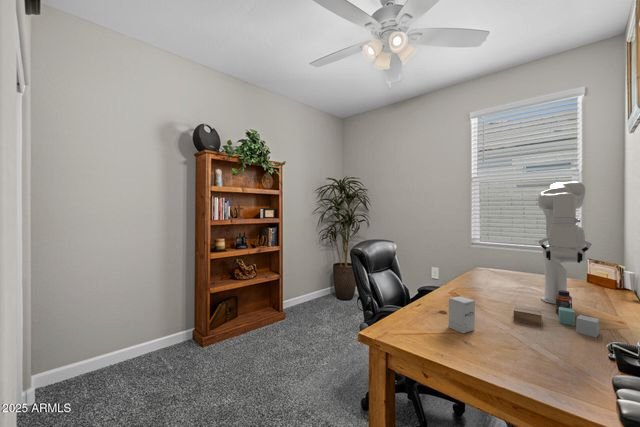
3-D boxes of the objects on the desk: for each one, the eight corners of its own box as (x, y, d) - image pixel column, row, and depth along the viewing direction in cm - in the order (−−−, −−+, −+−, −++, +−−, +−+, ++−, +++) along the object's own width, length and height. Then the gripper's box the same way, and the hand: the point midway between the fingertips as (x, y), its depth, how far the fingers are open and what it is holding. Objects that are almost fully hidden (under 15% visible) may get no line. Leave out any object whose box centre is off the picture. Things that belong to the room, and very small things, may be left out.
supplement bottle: (575, 317, 133) (575, 293, 132) (560, 316, 134) (560, 292, 134) (566, 312, 138) (567, 289, 138) (553, 311, 140) (553, 289, 140)
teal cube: (558, 319, 129) (558, 306, 129) (573, 322, 126) (573, 309, 126) (559, 323, 125) (559, 309, 125) (574, 325, 122) (574, 312, 122)
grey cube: (579, 328, 119) (579, 314, 119) (599, 333, 114) (599, 319, 114) (576, 332, 115) (576, 318, 115) (596, 337, 111) (596, 322, 111)
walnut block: (514, 314, 136) (514, 304, 136) (540, 319, 130) (541, 309, 130) (513, 321, 128) (513, 310, 128) (541, 326, 122) (541, 315, 122)
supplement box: (463, 334, 113) (464, 302, 113) (447, 327, 120) (448, 297, 120) (475, 330, 117) (475, 300, 117) (459, 324, 123) (459, 295, 123)
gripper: (590, 222, 118) (590, 262, 118) (538, 221, 129) (538, 258, 129) (593, 222, 112) (592, 264, 112) (538, 221, 123) (538, 260, 123)
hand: (563, 261), depth 121 cm, fingers open, 9 cm apart
